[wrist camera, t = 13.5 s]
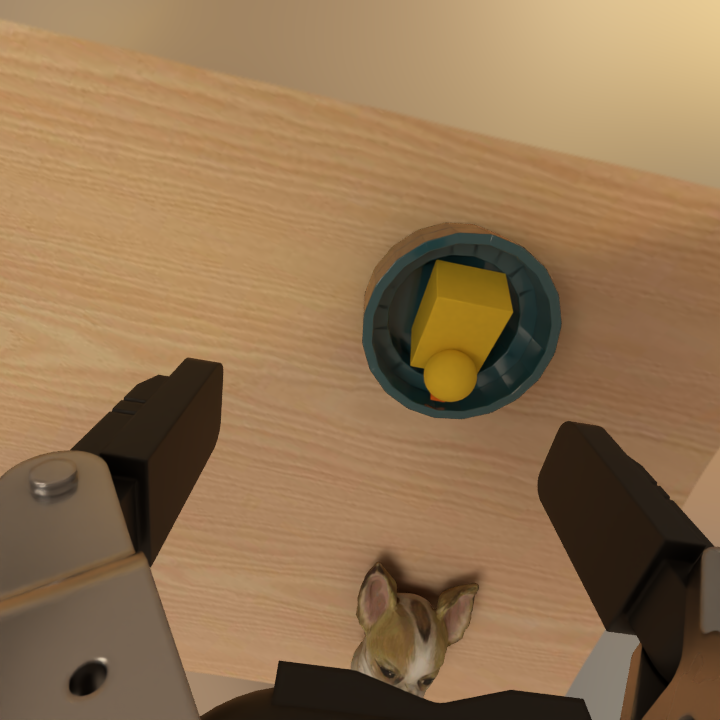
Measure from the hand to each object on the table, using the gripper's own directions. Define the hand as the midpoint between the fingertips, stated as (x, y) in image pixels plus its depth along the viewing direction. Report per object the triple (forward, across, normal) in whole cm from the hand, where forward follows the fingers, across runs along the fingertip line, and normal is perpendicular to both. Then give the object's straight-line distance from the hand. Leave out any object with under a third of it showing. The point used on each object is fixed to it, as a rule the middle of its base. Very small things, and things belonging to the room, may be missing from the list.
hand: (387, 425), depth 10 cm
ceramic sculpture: (+21, -9, +33) cm, 40 cm away
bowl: (+21, -6, +3) cm, 22 cm away
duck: (+19, -6, +2) cm, 20 cm away
